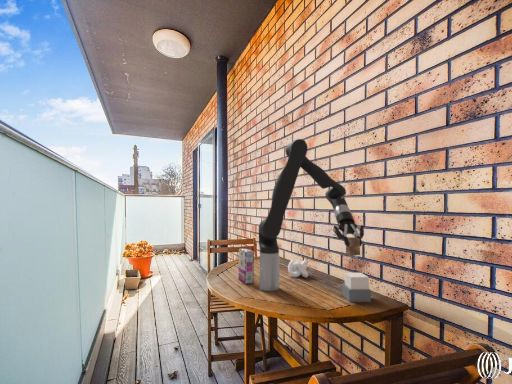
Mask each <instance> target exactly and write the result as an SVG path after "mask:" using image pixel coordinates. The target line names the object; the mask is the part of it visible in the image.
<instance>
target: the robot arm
mask: <svg viewBox="0 0 512 384" xmlns="http://www.w3.org/2000/svg"><path fill="white" fill-rule="evenodd" d="M308 149H309V147H308V144H307V142H306V141H305V140H304V139H300V138H297V139H295V140H293V141H291V142H289V143H288V144H287V145H286V147H285V150H284V152H285V155H286V156H287V161H286V163H285V166H284V167H283V169H282V170H281V172H280V173H279V175H278V176H277V179H276V181H275V185H274V186H273V189H272V195H271V203H270V209H269V212H268V213H267V217H266V218H265V219H262V220H261V222H259V226H258V246H259V290H260V291H263V292H264V291H265V292H275V291H278V290H279V289H280V246H279V244H278V236H279V235H280V233H281V231H282V227H283V226H282V225H283V221H284V216H285V213H286V210H287V208H288V205H289V202H290V199H291V196H292V194H293V191H294V188H295V184H296V181H297V179H298V175H299V172H300V169H302V170H303V171H304V172H305V173H307V175H309V177H311V178H312V179H313V181H314V182H315V183H317V186H319V187H320V188H321V189H323V190H324V189H327V188H330V189H328V190H326V192H325V198H326V200H327V201H328V202H329V203H330V205H331V206H332V209H333V211H334V217H335V220H336V222H337V225H334V226H333V229H332V231H333V233H334V234H335V235H336V237H337V238H338V239H339V240H343V244H344V245H345V246H346V245H347V247H349V245H350V243H349V241H348V235H349V234H350V235H352V237H356V238H359V239H360V247H362V245H363V241H362V239H363V238H364V236H365V227H364V225H362V224H361V225H357V224H356V222H355V219H354V216H353V213H352V212H351V209H350V208H349V207H350V206H348V203H347V201H346V199H345V198H343V197H344V196H346V194H347V190H346V188H345V187H344V186H343V185H342V184H341V183H339V182H337V181H336V180H334V179H332V177H331V176H329V174H328V173H327V172H326V170H324V169H323V168H321V167H320V166H319V165H317V164H315V163H314V162H313V161H312V160H310V159H309V158H308V157H307V156H306V155H307V153H308Z"/></svg>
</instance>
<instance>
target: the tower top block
mask: <svg viewBox="0 0 512 384" xmlns="http://www.w3.org/2000/svg"><path fill="white" fill-rule="evenodd" d="M369 282H370V278H369V277H368V276H367V275H366V274H364V273H362V272H344V283H345V285H346V286H348V287H349V288H350V289H363V290H369V289H370V283H369Z"/></svg>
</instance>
